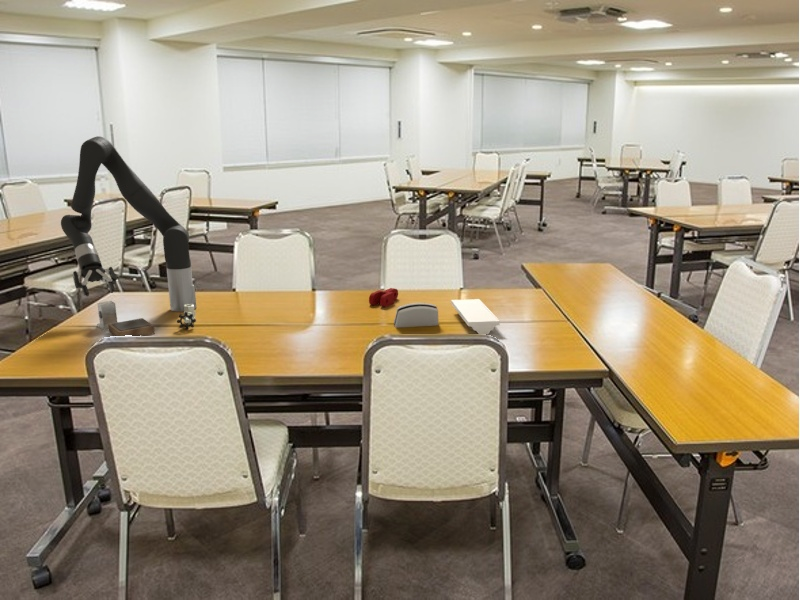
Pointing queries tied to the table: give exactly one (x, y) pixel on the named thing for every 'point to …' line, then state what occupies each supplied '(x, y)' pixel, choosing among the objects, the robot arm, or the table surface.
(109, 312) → the block
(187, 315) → the valve
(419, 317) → the grey napkin holder
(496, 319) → the shelf
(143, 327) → the stand
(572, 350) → the table surface
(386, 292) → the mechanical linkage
